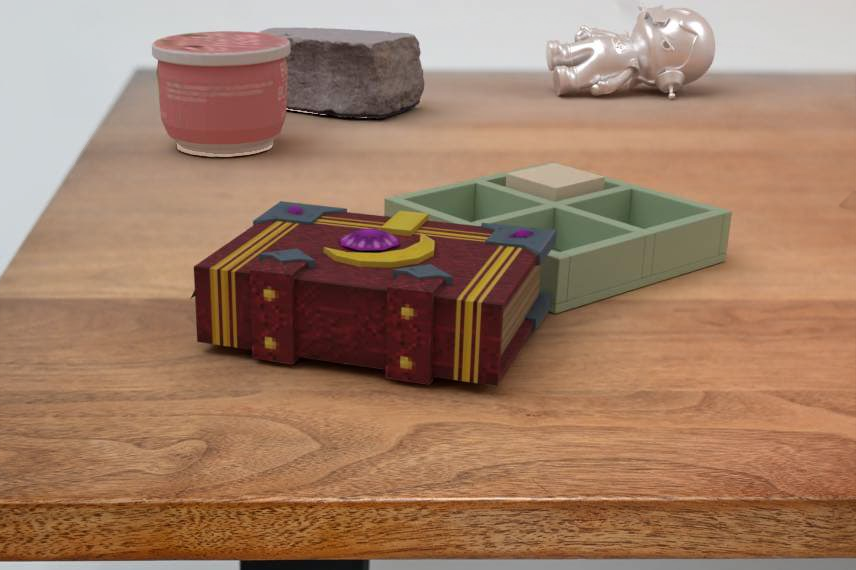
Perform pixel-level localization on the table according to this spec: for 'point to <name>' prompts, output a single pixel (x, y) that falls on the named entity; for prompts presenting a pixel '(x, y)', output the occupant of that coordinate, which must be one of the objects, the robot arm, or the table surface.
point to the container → (222, 89)
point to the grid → (589, 232)
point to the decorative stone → (352, 71)
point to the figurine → (635, 54)
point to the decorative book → (376, 292)
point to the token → (555, 182)
